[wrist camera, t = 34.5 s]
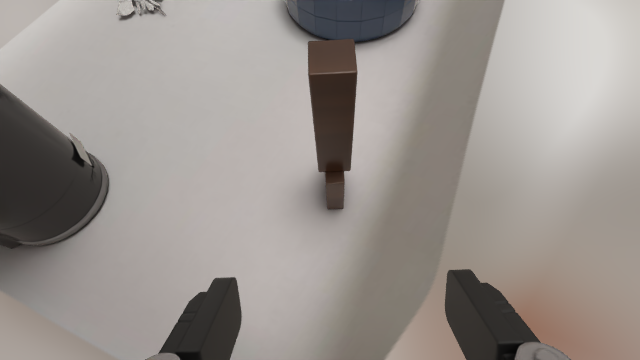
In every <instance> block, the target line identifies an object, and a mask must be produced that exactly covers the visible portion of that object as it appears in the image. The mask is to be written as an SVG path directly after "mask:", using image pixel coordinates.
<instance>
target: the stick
mask: <svg viewBox="0 0 640 360" xmlns="http://www.w3.org/2000/svg"><path fill="white" fill-rule="evenodd" d="M308 76H309V86H310V95H311V105H312V114H313V123H314V133H315V142H316V151H317V161H318V170H319V172H325V177H326V194H327V208H328V209H343V208H344V184H345V182H344V171H350V170H351V155H352V141H353V127H354V113H355V99H356V85H357V64H356V54H355V44H354V39H342V40H325V41H309V42H308Z"/></svg>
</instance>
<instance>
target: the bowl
mask: <svg viewBox="0 0 640 360" xmlns="http://www.w3.org/2000/svg"><path fill="white" fill-rule="evenodd" d="M285 1H286V4H287V8H288V11H289V14H290V15H291V16H292V17H293V18H294V20H295V21H296V22H297V23H298V24H299V25H300V26H301V27H303V28H304V29H305V30H307V31H308V32H310V33H312V34H314V35H316V36H319V37H321V38H324V39H328V40H342V39H354V42H360V41H367V40H372V39H376V38H379V37H382V36H384V35H386V34H389V33H390V32H392V31H394V30H395V29H397V28H398V27H400V26H401V25H402V24H403V23H404V22H405V21H406V20H407V19H408V18H409V17H410V16H412V14H413V12H414V10H415V7H416V5H417V3H418V0H285Z"/></svg>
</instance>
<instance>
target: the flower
mask: <svg viewBox="0 0 640 360" xmlns="http://www.w3.org/2000/svg"><path fill="white" fill-rule="evenodd" d="M139 2H140V3H139ZM151 2H152V3H153V4H152V3H151ZM135 3H136V5H137V9H138V13H139V14H140V6H139V5H140V4H141V6H142V8H143V9H146V8H145V5H146V6H147V8H148V10H154V8H157V7H155V5H158V6H160V4H159V3H157V2H155V1H153V0H135ZM154 4H155V5H154ZM157 9H158V11H159V12H160V13H161V14H163V15H165V16H166V14H165V13H164V12H163V11H162V10H160V9H159V8H157ZM134 10H135V9H134V7H133V5H132V0H120V2H119V7H118V11H117V14H116V15H122V16H125V15H129V14H130V13H132V12H133V11H134Z"/></svg>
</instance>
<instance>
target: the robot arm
mask: <svg viewBox="0 0 640 360" xmlns="http://www.w3.org/2000/svg"><path fill="white" fill-rule="evenodd" d="M70 135H71V138H72V140H73V141H72V140H71V139H69V138H68V137H67V136H66V135H64V134H63V133H62V132H61V131H59V130H58V129H57V128H56V127H54V126H53V125H52V124H50V123H49V122H48V121H47V120H45V119H44V118H43V117H42V116H40V115H39V114H38V113H36V112H35V111H34V110H33V109H31V108H30V107H29V106H28V105H26V104H25V103H24V102H22V101H21V100H20V99H19V98H17V97H16V96H15V95H13V94H12V93H11V92H10V91H8V90H7V89H6V88H5V87H3V86H2V85H1V84H0V245H1V246H4V247H7V248H11V249H12V248H15V247H17V246H19V245H21V244H26V245H34V246H38V245H47V244H51V243H55V242H58V241H60V240H63V239H65V238H67V237H69V236H70V235H72V234H74V233H75V232H77V231H78V230H79V229H81V228H82V227H83V226H84V225H86V224H87V223H88V222H89V221H90V220H91V219H92V217H93V216H94V215H95V214H96V212H97V211H98V209H99V208H100V206H101V204H102V203H103V201H104V198H105V195H106V192H107V187H108V177H107V172H106V170H105V167H104V166H103V164H102V163H101V162H100V161H99V160H98V159H97V158H95V157H94V156H93V155H91V154H90V153H88V152H87V151H85V150H84V147H83V145H82V143H81V141H79V140H78V139H77V138H76V137H74V136H73V135H72V134H71V133H70ZM445 312H446V317H447V321H448V323H449V325H450V327H451V329H452V331H453V333H454V335H455V337H456V339H457V341H458V344H459V346H460V348H461V350H462V352H463V354H464V356H465V358H466V360H571V359H570V358H569V357H568V356H567V355H565V354H564V353H563V352H561V351H560V350H558V349H556V348H554V347H552V346H549V345H547V344H543V343H541V342H540V341H539V340H538V338H537V337H536V336H535V335H534V333H533V332H532V331H531V330H530V328H529V327H528V326H527V325H526V323H525V322H524V321H523V320H522V319H521V317H520V316H519V315H518V313H516V312H515V310H514V308H513V307H512V306H511V305H510V304H509V303H508V301H507V300H506V298H505V297H504V296H503V295H502V293H501V292H500V291H499V290H497V289H495V288H494V287H493V286H491V285H490V284H488V283H480V281H479V280H478V279H477V277H476V276H475V274H474V273H473V272H472V271H471V270H469V269H468V270H449V271H448V273H447V283H446V297H445ZM240 326H241V306H240V299H239V292H238V286H237V280H236V278H235V277H231V278H215V279H214V280H213V282H212V284H211V285H210V287H209V289H208V291H207V292H200V293H199V294H198V295H196V296H195V297H194V298H193V299H192V300H190V301H189V303H188V305H187V306H186V308H185V310H184V311H183V314H182V315H181V316H180V318H179V320H178V323H176V325H175V327H174V328H173V330H172V332H171V333H170V335H169V337H168V338H167V340H166V342H165V343H164V345H163V347H162V348H161V350H160V352H159V353H158V354H157V355H154V356H151V357H149V358H148V359H146V360H230V357H231V354H232V351H233V348H234V345H235V342H236V339H237V336H238V333H239V330H240Z"/></svg>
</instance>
